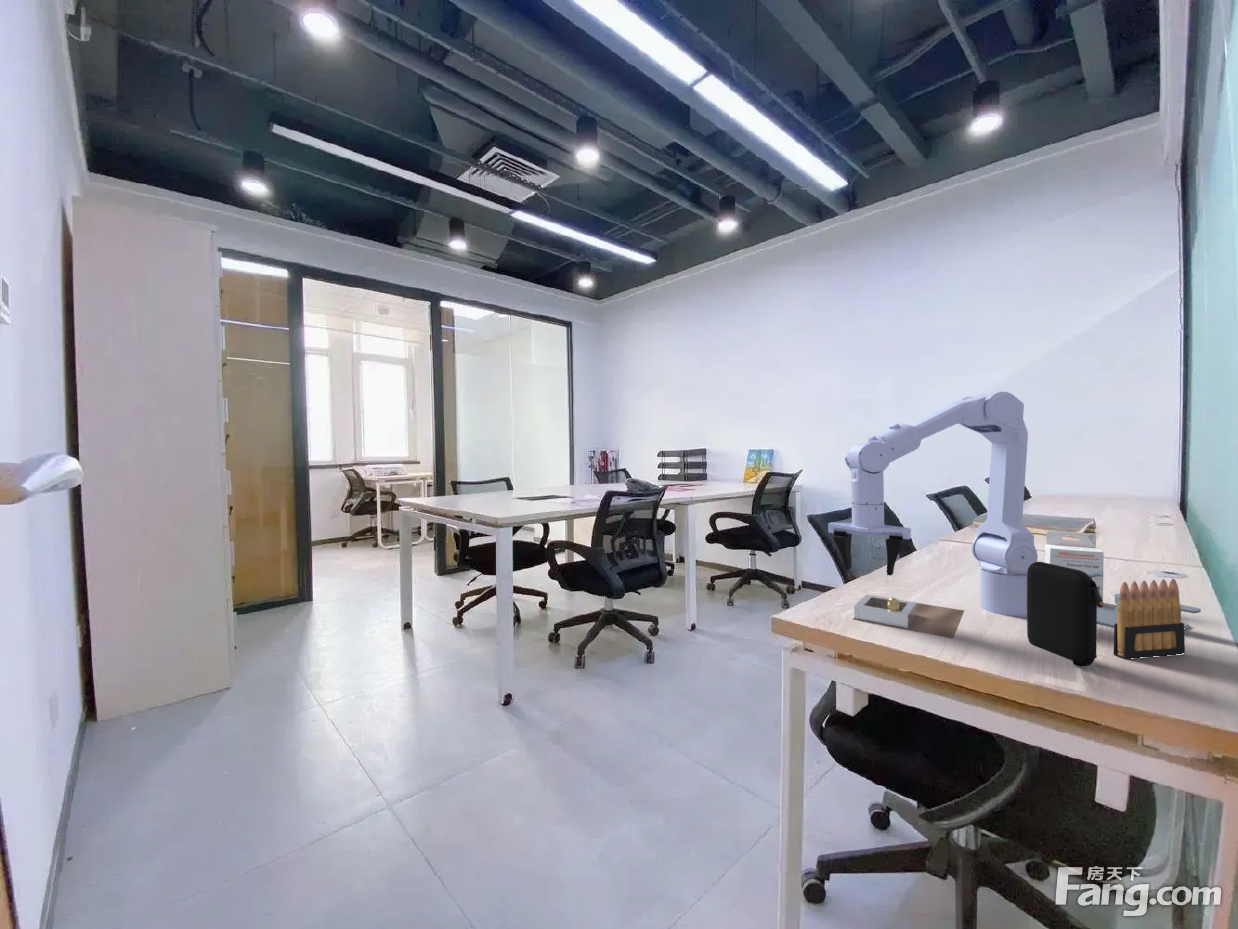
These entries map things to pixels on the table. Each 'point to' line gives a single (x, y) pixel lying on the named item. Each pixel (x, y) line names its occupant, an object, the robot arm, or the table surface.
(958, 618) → the board
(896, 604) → the keeper post
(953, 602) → the table surface
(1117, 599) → the shower valve
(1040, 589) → the carrying case or bag
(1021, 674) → the table surface
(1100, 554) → the ink cartridge box
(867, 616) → the steel link
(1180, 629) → the ammunition clip
